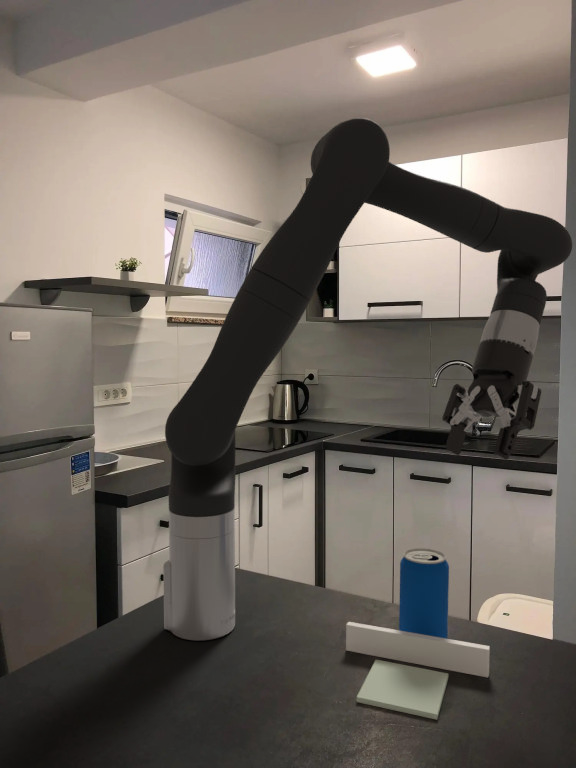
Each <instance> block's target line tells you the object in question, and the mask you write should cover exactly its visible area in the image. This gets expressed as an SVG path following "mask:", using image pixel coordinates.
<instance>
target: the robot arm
mask: <svg viewBox="0 0 576 768" xmlns="http://www.w3.org/2000/svg"><path fill="white" fill-rule="evenodd" d="M390 150H391V149H390V143H389V139H388V136H387V134H386V132H385V131H384V129H383V127H382V126H381V125H380V124H379V123H377V122H375V120H372V119H369V118H365V117H357V118H356V117H355V118H350V119H347V120H344V121H341V122H339V123H338V124H336V125H334V126H333V127H332V128H331V129H330V130H329V131H328V132H326V133H325V134H324V135H323V136H322V137H321V138H320V139H319V140H318V141H317V143H316V144H315V146H314V148H313V149H312V153H311V156H310V170H311V173H312V175H311V176H310V177H311V178H310V179H309V182H308V184H307V186H306V188H305V189H304V192H303V194H302V196H301V198H300V200H299V201H298V203H297V204H296V206H295V208H294V209H293V210H292V212H291V213H290V214H289V215H288V217H287V218H286V220H284V222H283V223H282V224H281V226H280V227H279V228H278V229H277V230H276V231H275V233H274V234H273V235H272V237H271V238H270V240H269V241H268V242H267V244H266V245H265V246H264V248H263V249H262V250H261V252H260V254H259V255H258V256H257V258H256V260H255V261H254V263H253V265H251V268H250V269H249V271H248V273H247V274H246V277H245V278H244V281H243V282H242V284H241V286H240V287H239V289H238V291H237V293H236V296H235V297H234V299H233V302H232V303H231V305H230V308H229V309H228V312H227V314H226V316H225V318H224V321H223V323H222V324H221V325H222V326H221V327H220V330H219V333H218V336H217V338H216V339H215V343H214V345H213V347H212V350H211V352H210V354H209V355H208V358H207V359H206V361H205V362H204V365H203V367H202V368H201V369H200V371H199V372H198V374H197V375H196V376H195V378H194V380H193V381H192V383H191V384H190V386H189V388H187V390H186V391H185V392H184V394H183V396H182V397H181V398H180V399H179V401H178V402H177V404H176V405H175V406H174V407H173V408H172V410H171V411H170V413H169V414H168V417H167V419H166V422H165V427H164V437H165V441H166V445H167V447H168V449H169V450H168V451H170V453H171V454H170V455H171V462H170V463H171V466H170V468H171V469H170V482H169V489H168V534H169V535H168V540H169V541H168V542H169V543H168V545H169V546H168V547H169V549H168V550H169V558H168V560H167V561H165V562H164V563H163V567H162V569H163V629H164V630H168V631H169V632H171V633H172V634H173V635H174V636H176V637H178V638H180V639H182V640H183V639H184V640H189V641H210V640H214V639H219V638H221V637H224V636H225V635H228V634H229V633H230V632H232V631H233V629H235V625H236V553H235V552H236V541H235V539H236V535H235V534H236V531H235V529H236V528H235V527H236V526H235V525H236V524H235V521H236V520H235V512H236V511H235V506H236V505H235V498H236V429H237V427H238V424H239V422H240V420H241V417H242V414H243V412H244V410H245V408H246V405H247V403H248V401H249V399H250V397H251V396H252V393H253V391H254V390H255V387H256V386H257V384H258V382H259V381H260V379H261V378H262V376H263V375H264V373H265V372H266V370H268V368H269V367H270V365H271V364H272V362H273V361H274V360H275V358H276V357H277V355H278V354H279V353H280V351H281V350H282V349H283V347H284V346H285V344H286V343H287V341H288V340H289V338H290V336H291V335H292V333H293V331H294V330H296V327H297V325H298V324H299V322H300V320H301V318H302V316H303V315H304V313H305V312H306V310H307V307H308V306H309V304H310V302H311V300H312V299H313V297H314V294H316V291H317V289H318V286H319V285H320V283H321V281H322V279H323V277H324V276H325V273H326V271H327V270H328V268H329V265H330V264H331V261H332V260H333V257H334V255H335V254H336V251H337V248H338V247H339V244H340V242H341V240H342V238H343V237H344V235H345V233H346V231H347V230H348V228H349V227H350V224H351V223H352V222H353V220H354V219H355V217H356V215H357V214H358V213H359V211H360V210H361V208H362V207H363V206H364V204H367V205H372V206H374V207H377V208H380V209H383V210H386V211H389V212H391V213H394V214H397V215H399V216H402V217H403V218H407V219H409V220H411V221H414V222H416V223H418V224H420V225H422V226H425V227H427V228H429V229H431V230H433V231H435V232H437V233H440V234H441V235H444V236H446V237H448V238H450V239H452V240H454V241H456V242H459V243H461V244H463V245H465V246H467V247H470V248H472V249H473V250H476V251H477V252H480V253H484V254H485V253H494V252H497V251H500V252H499V254H498V257H497V270H496V273H497V274H496V285H497V286H496V290H497V291H496V294H495V297H494V301H493V304H492V307H491V310H490V315H489V316H488V320H487V321H486V323H485V326H484V327H483V331H482V335H481V337H480V341H479V344H478V348H477V351H476V355H475V357H474V361H473V364H472V368H471V372H472V376H473V380H472V382H471V384H470V385H469V386H467V387H466V386H462V385H460V384H459V383H456V384H454V385H453V386H452V390H451V393H450V396H449V398H448V400H447V404H446V406H445V408H444V409H445V410H444V412H443V415H442V421H443V422H445V423H447V424H449V425H450V429H449V430H450V431H449V434H448V437H447V441H446V443H445V447H446V451H447V452H448V453H450V454H452V455H453V456H459V455H461V453H462V450H463V446H464V443H465V440H466V436H467V430H468V429H469V428H470V427H471V426H472V425H473V424H475V423H477V422H480V420H481V419H482V418H488V417H492V416H493V417H495V418H500V422H501V424H502V426H503V427H500V428H499V431H498V435H497V438H496V441H495V445H494V449H493V454H494V455H493V456H495V457H497V458H499V459H500V460H508V459H509V457H510V456H511V455H512V453H513V451H514V447H515V444H516V439H517V437H518V435H519V434H520V433H521V432H522V431H523V430H528V431H531V430H532V429H534V427H535V424H536V419H537V415H538V410H539V409H538V408H539V404H540V399H541V395H542V389H541V388H539V387H538V385H536V384H534V383H533V382H531V381H529V380H528V377H529V373H530V370H531V367H532V362H533V358H534V354H535V353H536V352H535V351H536V348H537V344H538V340H539V331H540V325H541V322H542V318H543V315H544V312H545V308H546V304H547V297H548V295H547V290H546V288H545V287H544V285H542V284H541V283H540V282H538V281H536V279H537V278H538V276H539V275H540V274H543V273H546V272H547V271H550V270H552V269H554V268H556V267H558V266H560V265H562V264H563V263H564V262H566V260H567V259H568V258H569V257H570V256H571V253H572V250H573V239H572V237H571V234H570V232H569V231H568V229H567V228H566V227H565V226H564V225H563V224H562V223H561V222H559V221H557V220H556V219H554V218H552V217H549V216H547V215H543V214H540V213H539V214H538V213H535V212H530V211H527V210H522V209H517V208H509V207H505V206H502V205H500V204H499V203H498V202H495V201H493V200H491V199H489V198H487V197H485V196H483V195H481V194H480V193H477V192H475V191H472V190H470V189H467V188H465V187H463V186H459V185H456V184H454V183H451V182H446V181H441V180H437V179H435V178H430V177H427V176H423V175H421V174H417V173H415V172H411V171H409V170H407V169H405V168H402V167H400V166H398V165H396V164H395V163H393V162H390V153H391V152H390ZM517 401H518V404H517V409H516V405H515V403H517ZM470 409H472V410H473V411H472V410H470ZM453 413H454V414H453ZM465 417H466V418H465Z"/></svg>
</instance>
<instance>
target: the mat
mask: <svg viewBox="0 0 576 768" xmlns="http://www.w3.org/2000/svg"><path fill="white" fill-rule="evenodd" d="M448 680H449V673H448V672H447V673H446V672H442V671H437V670H431V669H427V668H421V667H416V666H412V665H411V666H410V665H406V664H401V663H395V662H390V661H385V660H380V659H375V660H374V662H373V664H372V666H371V668H370V670H369V672H368V674H367V676H366V678H365V679H364V681H363V683H362V685H361V687H360V689H359V691H358V693H357V695H356V702H357V703H359V704H364V705H369V706H374V707H379V708H382V709H387V710H391V711H397V712H400V713H405V714H409V715H415V716H419V717H423V718H428V719H432V720H438V719H439V714H440V711H441V707H442V703H443V700H444V696H445V692H446V688H447V686H448Z"/></svg>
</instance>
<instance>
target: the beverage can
mask: <svg viewBox="0 0 576 768" xmlns="http://www.w3.org/2000/svg"><path fill="white" fill-rule="evenodd" d="M449 581H450V565H449V563H448V561H447V556H446V554H445V553H443V552H441V551H439V550H436V549H431V548H424V547H423V548H422V547H420V548H419V547H417V548H410V549H407V550H405V551H404V552H403V557H402V558H401V560H400V562H399V609H398V610H399V611H398V612H399V613H398V614H399V617H398V618H399V619H398V620H399V621H398V630H400V631H405V632H411V633H417V634H423V635H428V636H434V637H440V638H446V639H448V635H449V633H448V630H449V629H448V628H449V588H450V586H449V585H450V584H449V583H450V582H449Z"/></svg>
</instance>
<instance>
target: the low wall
mask: <svg viewBox="0 0 576 768" xmlns="http://www.w3.org/2000/svg"><path fill="white" fill-rule="evenodd" d="M345 626H346V627H345V633H346V635H345V651H348V652H351V653H352V652H353V653H359V654H363V655H368V656H373V657H377V658H378V657H379V658H385V659H389V660H394V661H398V662H399V661H400V662H406V663H411V664H417V665H420V666H426V667H432V668H437V669H441V670H447V671H451V672H457V673H461V674H462V673H463V674H467V675H468V674H469V675H474V676H477V677H483V678H489V677H490V676H489V674H490V649H491V648H490V645H485V644H479V643H473V642H469V641H463V640H455V639H450V638H447V639H446V638H440V637H434V636H428V635H423V634H417V633H411V632H405V631H400V630H399V629H393V628H388V627H381V626H375V625H370V624H364V623H360V622H359V623H358V622H353V621H348V622H347V623H346V624H345Z"/></svg>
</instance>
